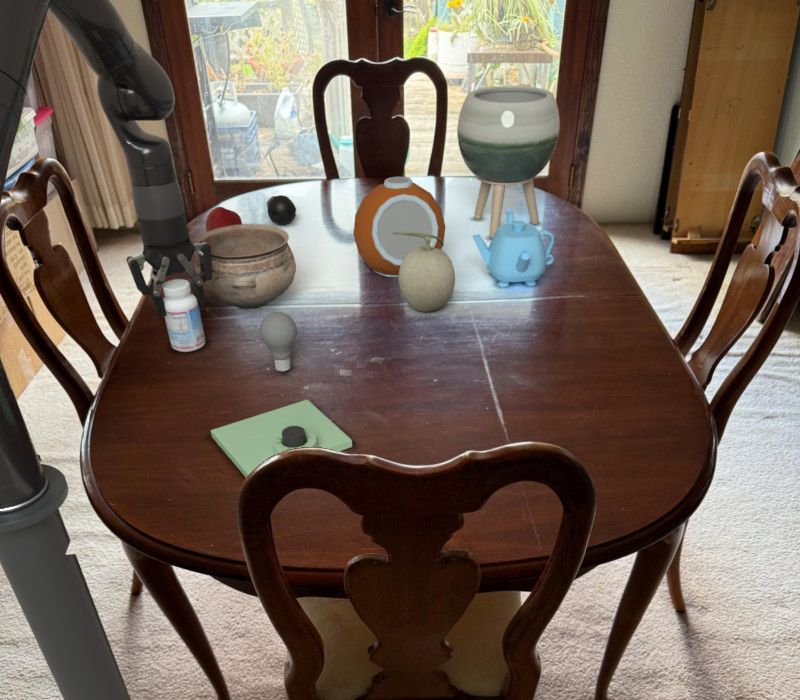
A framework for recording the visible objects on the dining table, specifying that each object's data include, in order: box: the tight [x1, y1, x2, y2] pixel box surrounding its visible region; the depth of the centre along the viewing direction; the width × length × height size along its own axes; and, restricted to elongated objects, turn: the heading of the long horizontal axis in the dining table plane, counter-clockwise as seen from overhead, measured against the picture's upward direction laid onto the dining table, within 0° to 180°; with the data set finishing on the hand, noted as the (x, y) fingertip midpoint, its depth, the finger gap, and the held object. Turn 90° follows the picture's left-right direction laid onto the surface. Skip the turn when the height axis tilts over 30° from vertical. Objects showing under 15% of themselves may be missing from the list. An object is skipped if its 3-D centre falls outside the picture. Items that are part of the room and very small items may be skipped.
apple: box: [205, 206, 243, 233], centre depth 176 cm, size 8×8×8 cm
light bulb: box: [259, 311, 298, 372], centre depth 128 cm, size 6×6×10 cm
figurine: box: [265, 195, 297, 227], centre depth 192 cm, size 8×7×18 cm
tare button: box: [282, 426, 306, 448], centre depth 108 cm, size 3×3×2 cm
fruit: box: [393, 232, 456, 313], centre depth 145 cm, size 10×12×15 cm
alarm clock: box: [353, 176, 446, 278], centre depth 161 cm, size 19×18×17 cm
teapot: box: [472, 208, 555, 288], centre depth 156 cm, size 15×14×11 cm
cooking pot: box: [194, 223, 297, 310], centre depth 149 cm, size 25×19×12 cm
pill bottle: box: [161, 278, 206, 353], centre depth 135 cm, size 6×6×11 cm
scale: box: [210, 399, 353, 479], centre depth 113 cm, size 16×15×3 cm
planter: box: [456, 85, 561, 239], centre depth 175 cm, size 22×22×28 cm
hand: (181, 310), depth 135 cm, fingers closed on pill bottle, 6 cm apart
